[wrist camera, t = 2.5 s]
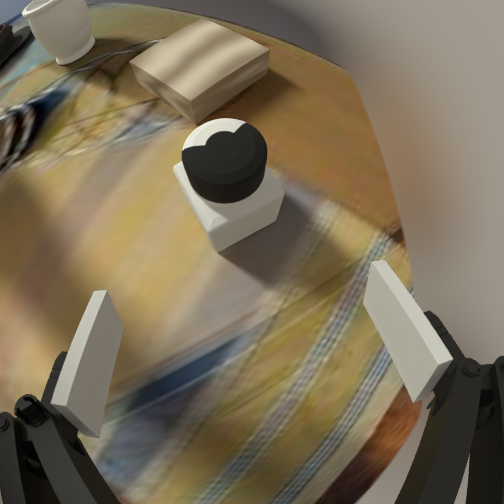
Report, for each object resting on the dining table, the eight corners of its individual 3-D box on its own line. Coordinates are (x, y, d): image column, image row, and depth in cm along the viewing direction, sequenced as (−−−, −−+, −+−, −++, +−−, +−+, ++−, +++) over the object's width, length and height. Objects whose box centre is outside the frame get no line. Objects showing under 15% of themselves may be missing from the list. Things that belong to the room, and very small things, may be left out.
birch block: (138, 84, 35) (129, 61, 30) (205, 41, 38) (202, 18, 33) (196, 126, 34) (190, 100, 29) (267, 75, 36) (269, 49, 31)
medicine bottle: (277, 220, 31) (296, 162, 19) (216, 254, 30) (199, 212, 18) (243, 167, 32) (243, 94, 20) (185, 197, 31) (157, 133, 19)
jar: (45, 62, 37) (15, 13, 23) (85, 31, 39) (62, -21, 25) (65, 75, 36) (31, 16, 21) (110, 39, 38) (87, -22, 23)
